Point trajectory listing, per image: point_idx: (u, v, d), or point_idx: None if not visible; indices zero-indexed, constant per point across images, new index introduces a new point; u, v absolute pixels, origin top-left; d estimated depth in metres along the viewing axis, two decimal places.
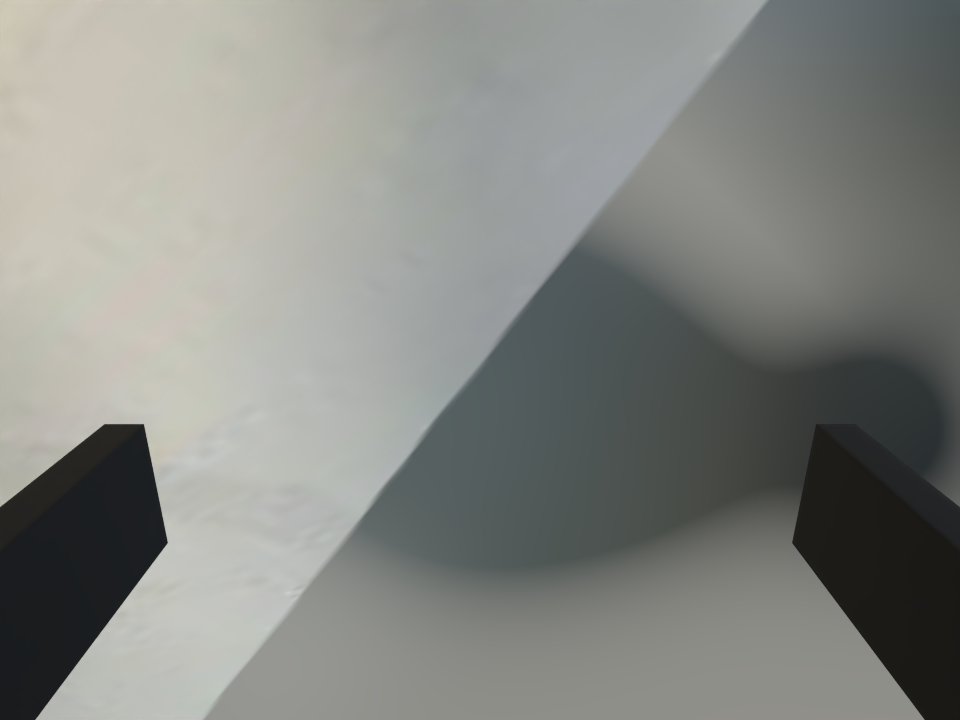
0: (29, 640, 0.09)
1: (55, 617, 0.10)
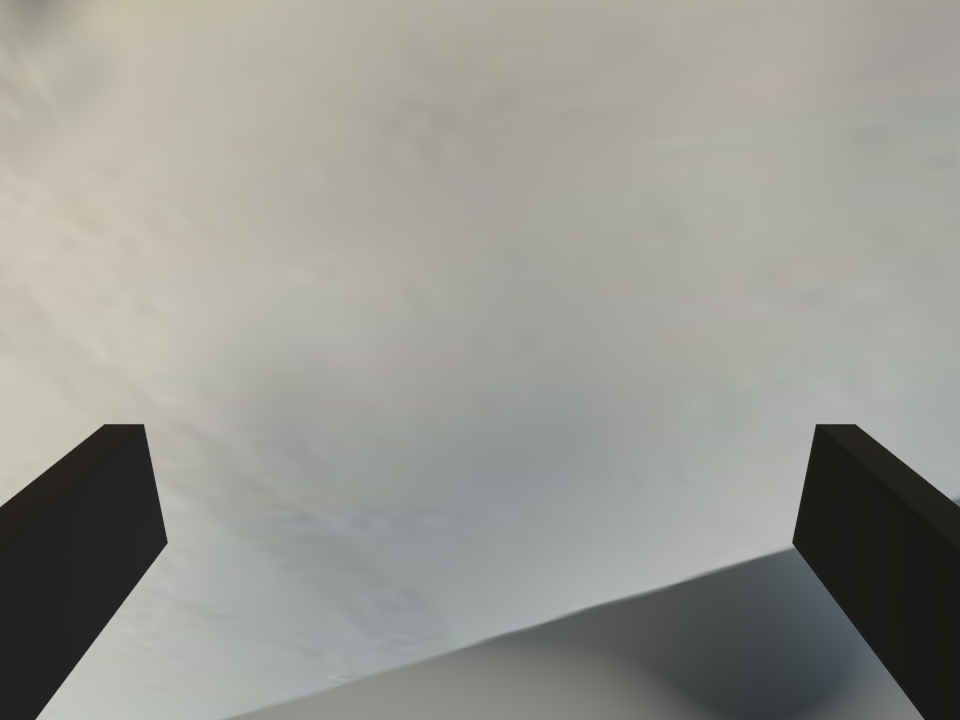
0: (29, 640, 0.09)
1: (55, 617, 0.10)
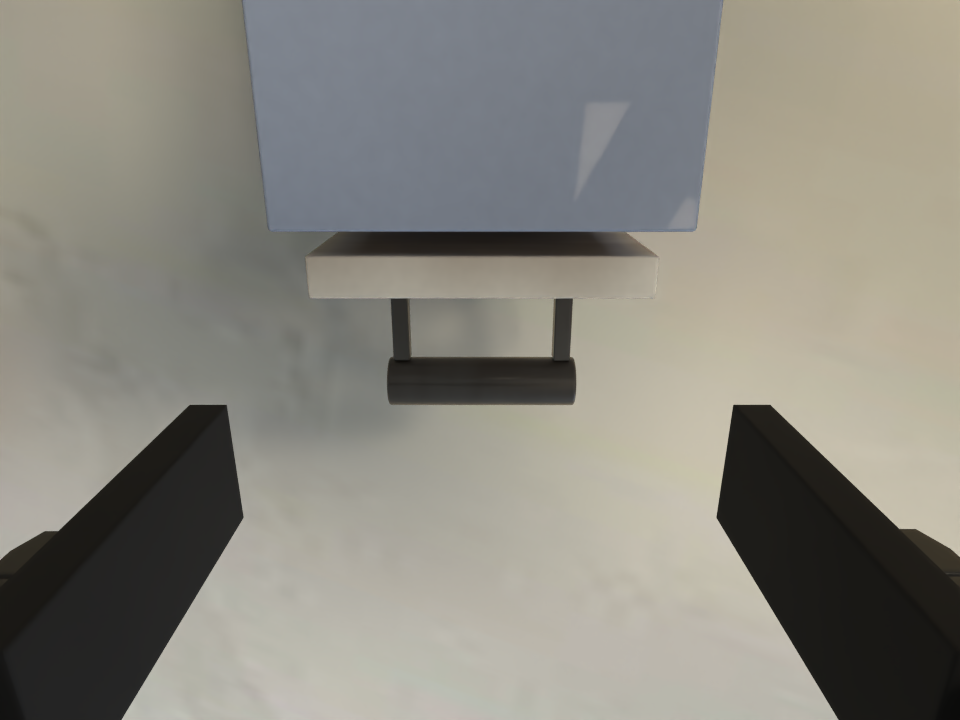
0: (147, 596, 0.10)
1: (165, 577, 0.10)
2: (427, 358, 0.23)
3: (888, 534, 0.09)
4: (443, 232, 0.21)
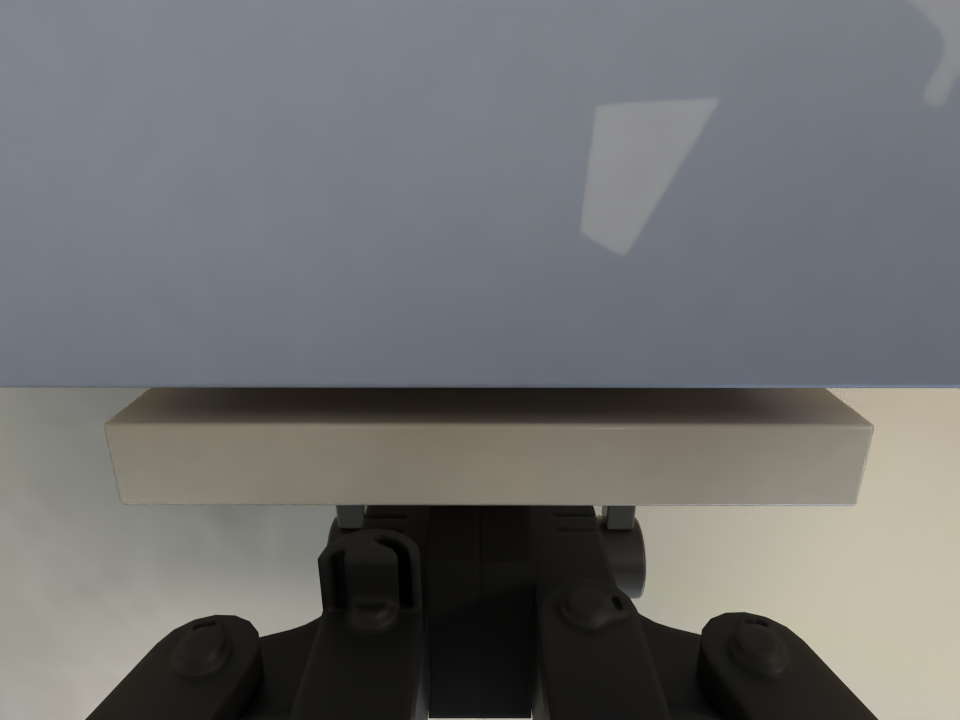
0: None
1: None
2: None
3: None
4: None
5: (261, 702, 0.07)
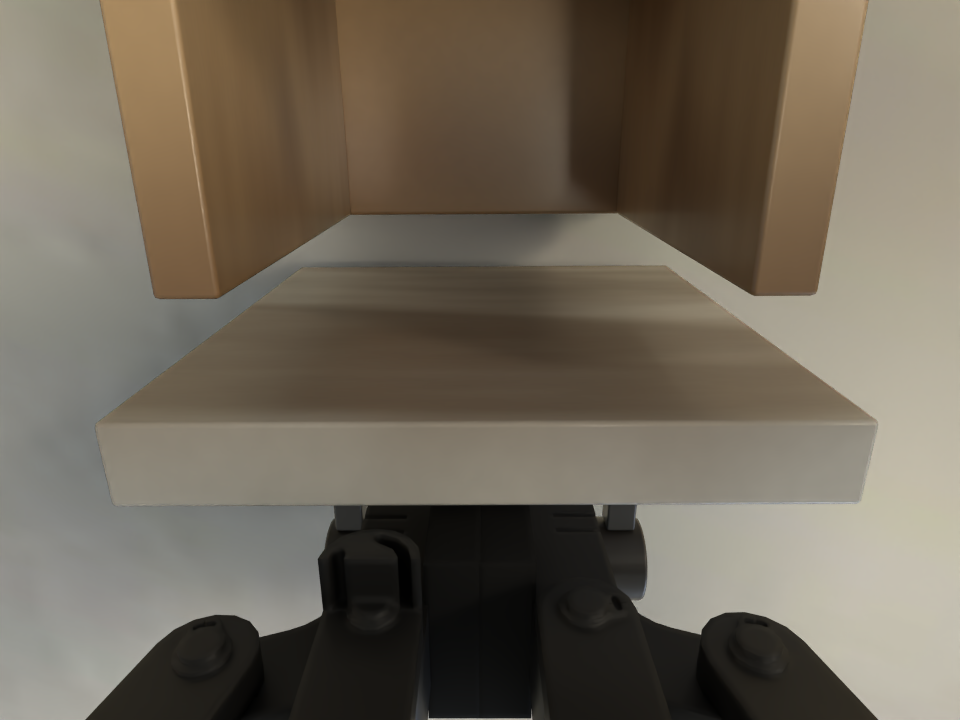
0: None
1: None
2: None
3: None
4: (414, 326, 0.12)
5: (261, 702, 0.07)
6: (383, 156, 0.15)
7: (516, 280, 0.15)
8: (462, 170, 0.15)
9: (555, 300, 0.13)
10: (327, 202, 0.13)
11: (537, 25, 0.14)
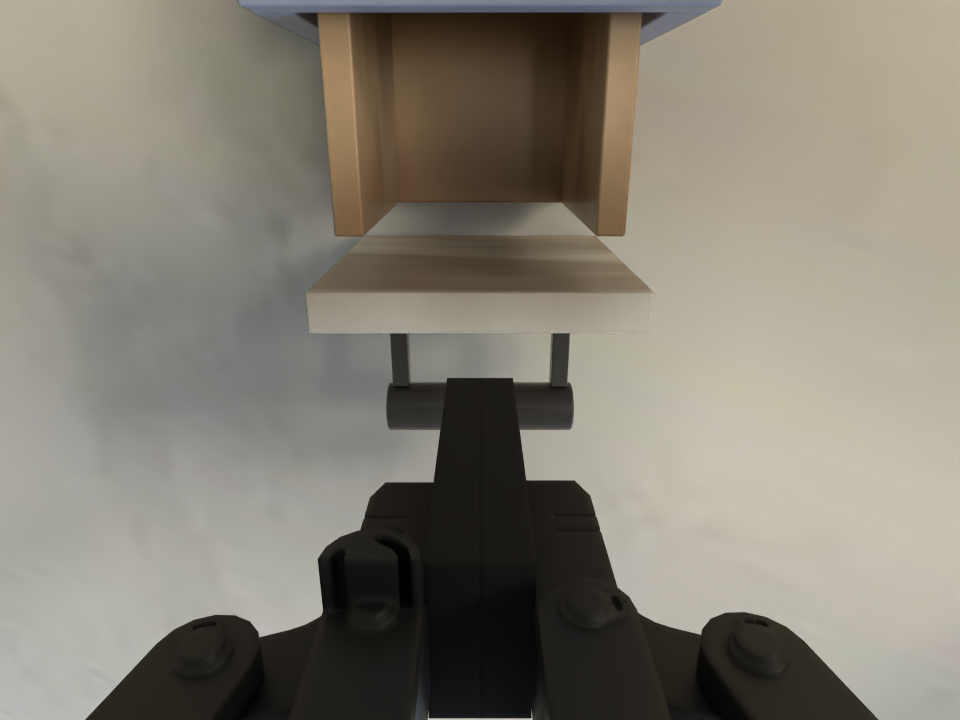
0: None
1: None
2: (426, 384, 0.24)
3: (512, 479, 0.10)
4: (442, 262, 0.21)
5: (261, 702, 0.07)
6: (419, 167, 0.24)
7: (499, 242, 0.25)
8: (467, 176, 0.25)
9: (521, 252, 0.23)
10: (391, 194, 0.23)
11: (512, 91, 0.23)
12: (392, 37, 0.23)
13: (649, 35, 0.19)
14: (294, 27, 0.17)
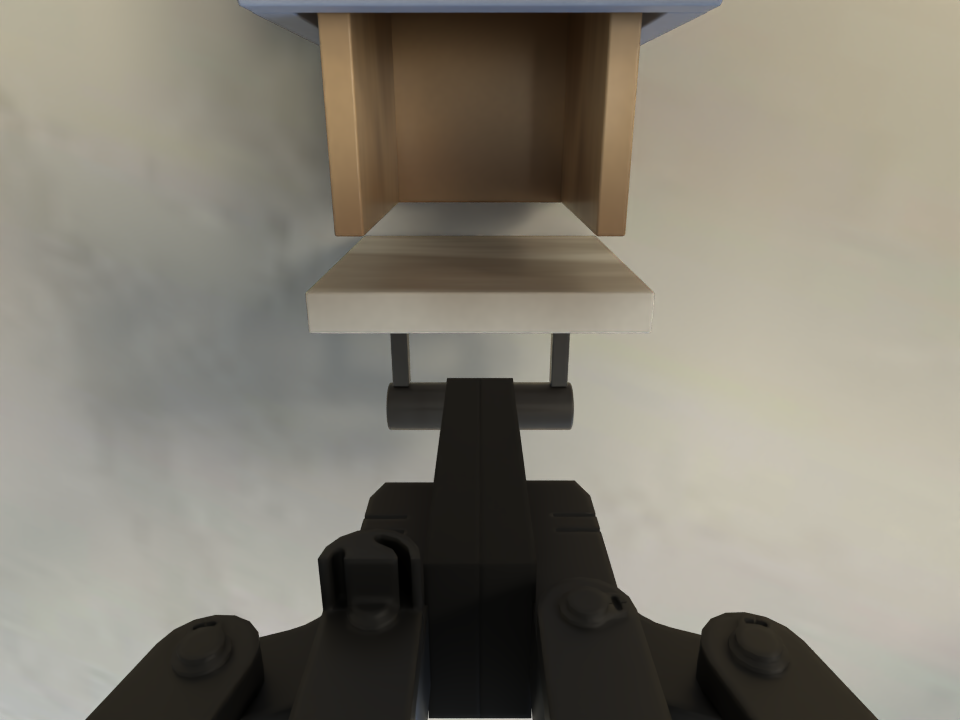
0: None
1: None
2: (426, 384, 0.24)
3: (512, 479, 0.10)
4: (442, 262, 0.21)
5: (261, 702, 0.07)
6: (419, 167, 0.24)
7: (499, 242, 0.25)
8: (467, 176, 0.25)
9: (521, 252, 0.23)
10: (391, 194, 0.23)
11: (512, 91, 0.23)
12: (392, 37, 0.23)
13: (649, 35, 0.19)
14: (294, 27, 0.17)
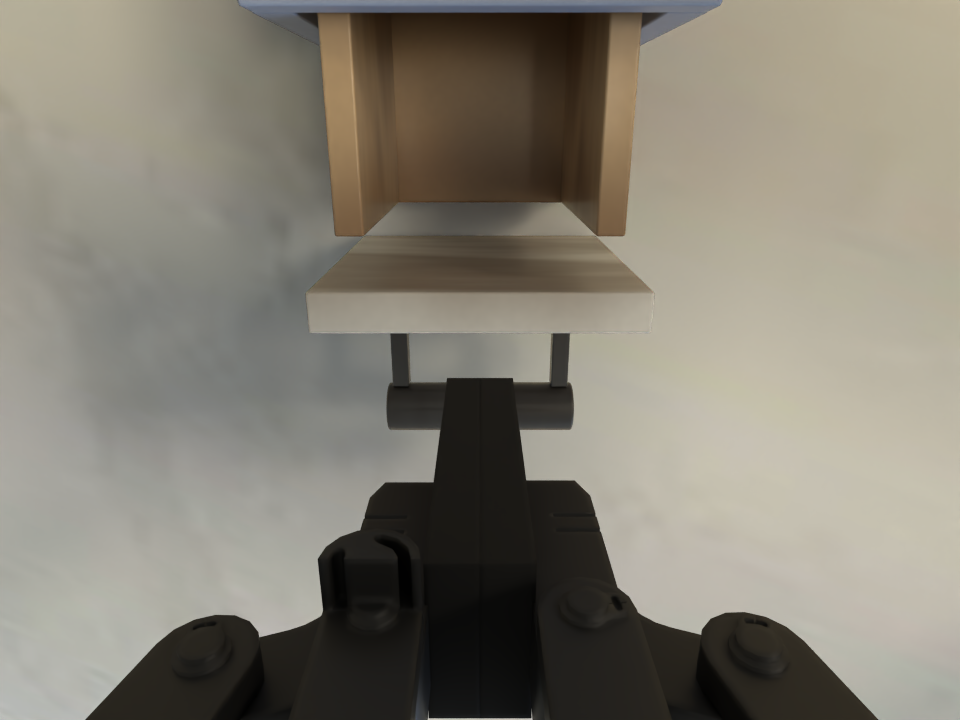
0: None
1: None
2: (426, 384, 0.24)
3: (512, 479, 0.10)
4: (442, 262, 0.21)
5: (261, 702, 0.07)
6: (419, 167, 0.24)
7: (499, 242, 0.25)
8: (467, 176, 0.25)
9: (521, 252, 0.23)
10: (391, 194, 0.23)
11: (512, 91, 0.23)
12: (392, 37, 0.23)
13: (649, 35, 0.19)
14: (294, 27, 0.17)
